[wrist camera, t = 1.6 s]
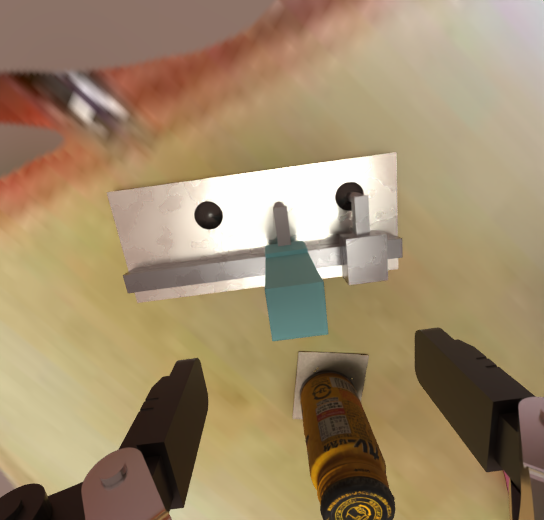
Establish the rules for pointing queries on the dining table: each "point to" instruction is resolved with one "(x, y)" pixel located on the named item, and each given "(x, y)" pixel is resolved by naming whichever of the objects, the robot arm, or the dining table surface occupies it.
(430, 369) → the robot arm
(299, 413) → the condiment
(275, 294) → the leg
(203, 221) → the hole plate
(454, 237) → the dining table surface
